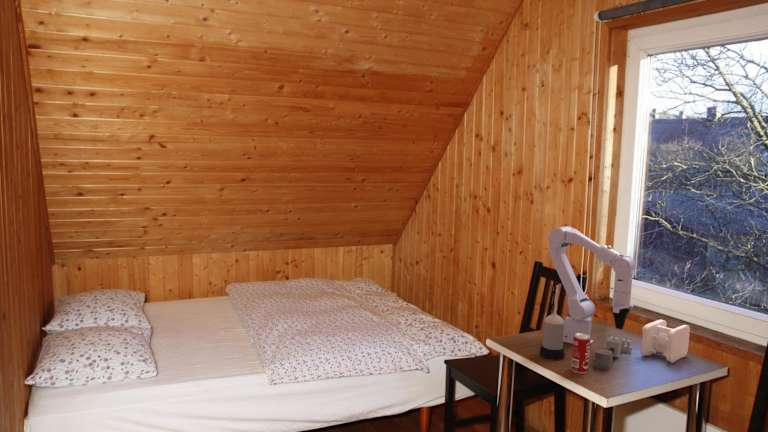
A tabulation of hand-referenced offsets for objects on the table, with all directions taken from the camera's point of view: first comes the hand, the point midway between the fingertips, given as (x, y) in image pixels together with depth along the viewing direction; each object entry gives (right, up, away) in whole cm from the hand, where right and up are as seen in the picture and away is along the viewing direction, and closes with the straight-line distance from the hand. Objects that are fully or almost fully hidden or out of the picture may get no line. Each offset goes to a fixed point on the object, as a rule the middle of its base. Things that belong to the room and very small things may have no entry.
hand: (619, 328), depth 209 cm
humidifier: (-25, -9, -4) cm, 27 cm away
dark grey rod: (-5, -8, -5) cm, 11 cm away
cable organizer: (+15, -10, -1) cm, 18 cm away
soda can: (-20, -11, -18) cm, 29 cm away
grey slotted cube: (-4, -9, -4) cm, 11 cm away
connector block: (-11, -10, -14) cm, 20 cm away
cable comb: (+1, -9, +4) cm, 9 cm away
